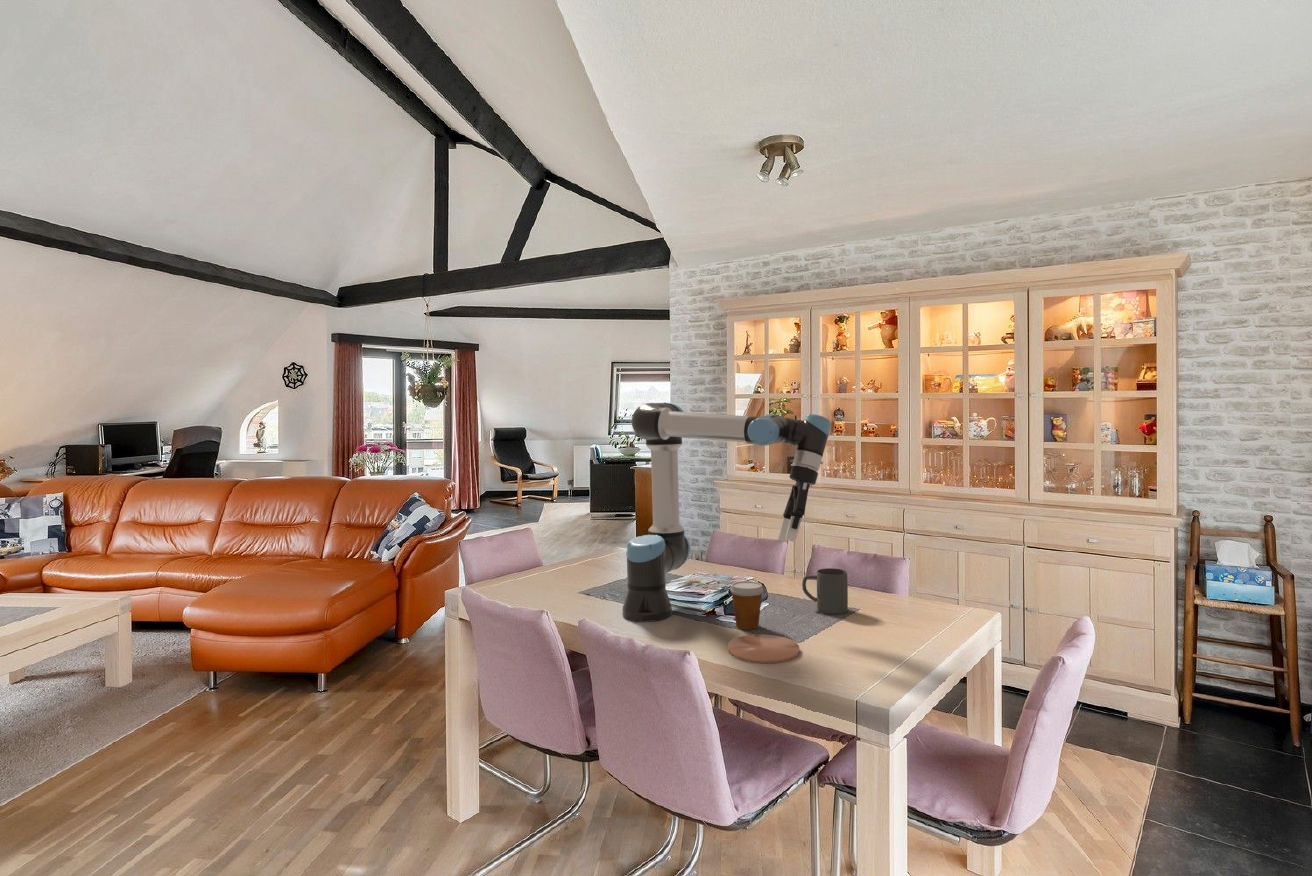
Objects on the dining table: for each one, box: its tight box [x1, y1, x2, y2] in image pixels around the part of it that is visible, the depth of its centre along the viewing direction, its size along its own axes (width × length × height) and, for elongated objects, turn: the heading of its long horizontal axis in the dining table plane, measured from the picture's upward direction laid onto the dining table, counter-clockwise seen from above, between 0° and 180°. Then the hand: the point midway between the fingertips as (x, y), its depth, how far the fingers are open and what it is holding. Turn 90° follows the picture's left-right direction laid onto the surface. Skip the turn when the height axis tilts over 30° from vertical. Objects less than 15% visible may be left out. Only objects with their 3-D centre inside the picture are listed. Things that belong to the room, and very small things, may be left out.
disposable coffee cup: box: [729, 580, 764, 630], centre depth 194 cm, size 10×10×12 cm
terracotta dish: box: [727, 633, 800, 664], centre depth 174 cm, size 18×18×1 cm
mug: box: [801, 567, 849, 615], centre depth 209 cm, size 14×9×12 cm
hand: (786, 540), depth 190 cm, fingers open, 13 cm apart
